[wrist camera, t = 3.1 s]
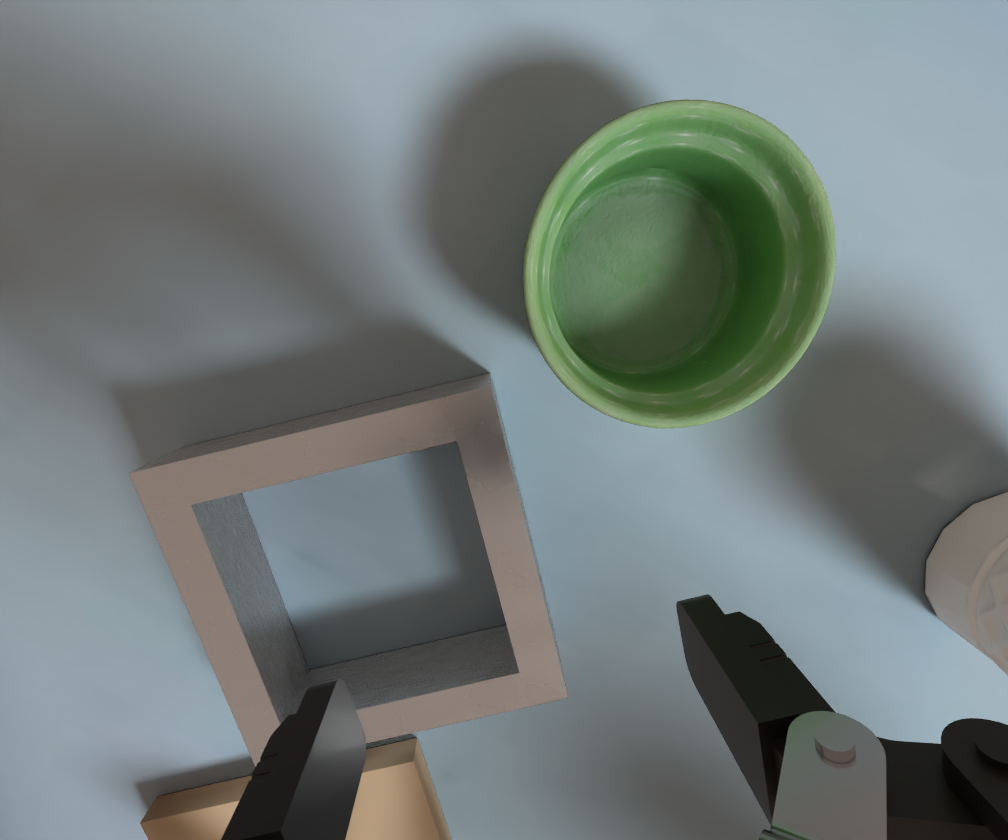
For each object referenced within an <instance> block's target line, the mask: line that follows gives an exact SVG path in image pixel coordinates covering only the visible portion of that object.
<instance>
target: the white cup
mask: <svg viewBox="0 0 1008 840" xmlns="http://www.w3.org/2000/svg"><path fill="white" fill-rule="evenodd" d="M925 594H926V596H927V598H928V600H929V601H930V603H931V605H932V607H933V609H934V611H935V613H936V615H937V616H938V618H939V620H940V621H941V622H943V623H944V624H945V625H947V626H948V627H949V628H950V629H952V630H953V631H954V632H956V633H957V634H958V635H960V636H961V637H962V638H964V639H965V640H966V641H967V642H969V643H970V644H971V645H973V646H974V647H975V648H977V649H978V650H979V651H981V652H982V653H983V654H984V655H986V656H987V657H988V658H990V659H991V660H993V661H994V662H995V663H996V664H997V665H998V666H999V667H1000V668H1001V669H1002V670H1003V671H1004V672H1005V673H1006V674H1007V675H1008V492H1006V493H1003V494H1000V495H997V496H994V497H992V498H989V499H986V500H983V501H980V502H978V503H975V504H973V505H971V506H970V507H969V508H968V509H966V510H965V511H964V512H963V513H962V514H961V515H959V516H958V517H957V518H956V519H955V520H953V521H952V522H951V523H950V524H949V525H948V526H946V527H945V528H944V529H943V531H942V532H941V534H940V536H939V538H938V540H937V542H936V544H935V545H934V547H933V549H932V551H931V553H930V555H929V557H928V559H927V561H926V580H925Z"/></svg>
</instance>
